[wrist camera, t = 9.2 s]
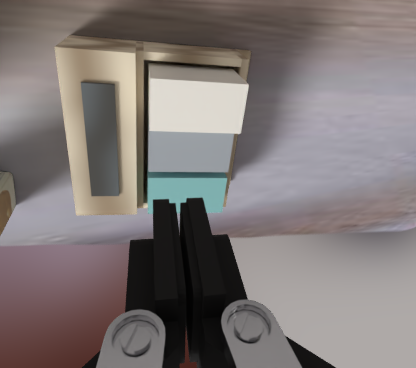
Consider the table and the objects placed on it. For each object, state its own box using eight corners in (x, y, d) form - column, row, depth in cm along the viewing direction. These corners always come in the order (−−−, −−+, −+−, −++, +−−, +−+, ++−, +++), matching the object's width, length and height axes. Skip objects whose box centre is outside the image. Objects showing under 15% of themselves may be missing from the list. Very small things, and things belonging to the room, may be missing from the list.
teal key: (216, 153, 33) (227, 178, 29) (212, 185, 35) (221, 212, 31) (147, 152, 32) (148, 178, 28) (147, 185, 34) (147, 213, 30)
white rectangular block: (232, 68, 28) (249, 84, 23) (226, 112, 29) (240, 133, 25) (148, 62, 26) (150, 78, 22) (148, 108, 28) (149, 131, 24)
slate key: (221, 112, 31) (234, 132, 27) (217, 148, 33) (228, 172, 29) (147, 108, 30) (148, 129, 26) (147, 146, 32) (148, 171, 28)
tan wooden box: (249, 50, 31) (271, 64, 26) (228, 181, 38) (242, 213, 33) (70, 35, 28) (53, 47, 22) (85, 181, 35) (75, 217, 30)
